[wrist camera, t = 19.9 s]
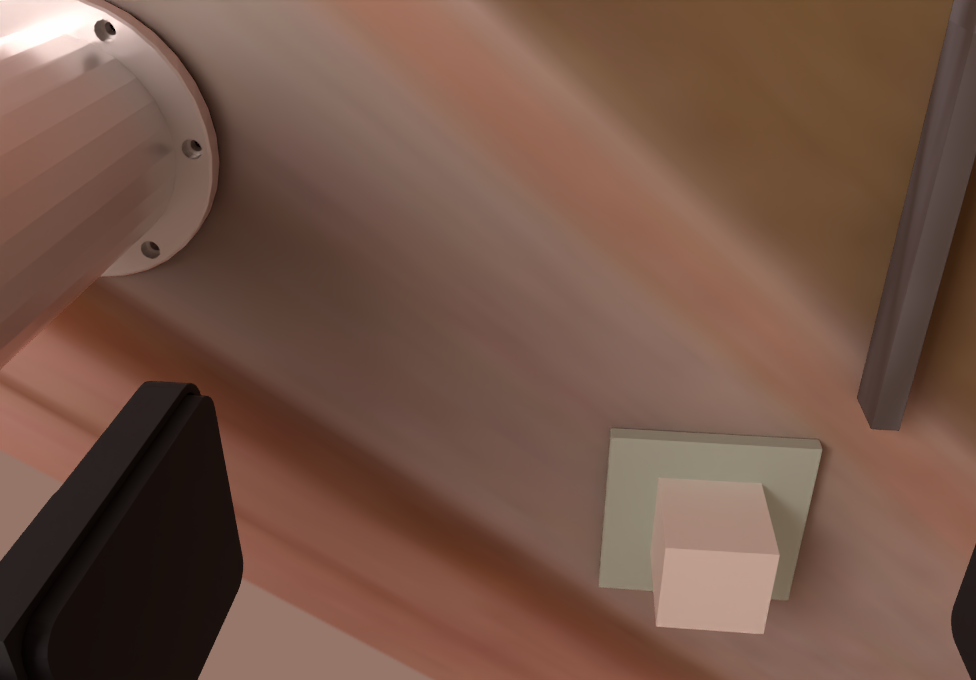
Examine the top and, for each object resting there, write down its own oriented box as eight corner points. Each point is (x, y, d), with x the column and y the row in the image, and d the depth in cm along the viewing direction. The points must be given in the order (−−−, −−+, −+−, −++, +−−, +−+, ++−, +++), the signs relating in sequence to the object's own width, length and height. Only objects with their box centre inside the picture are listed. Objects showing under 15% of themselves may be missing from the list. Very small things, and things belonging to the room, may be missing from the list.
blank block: (650, 552, 47) (656, 626, 43) (658, 477, 45) (665, 547, 41) (747, 559, 47) (763, 634, 43) (761, 483, 44) (779, 554, 40)
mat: (598, 576, 50) (598, 587, 49) (610, 427, 45) (611, 437, 44) (785, 589, 49) (788, 600, 48) (818, 439, 44) (822, 449, 43)
